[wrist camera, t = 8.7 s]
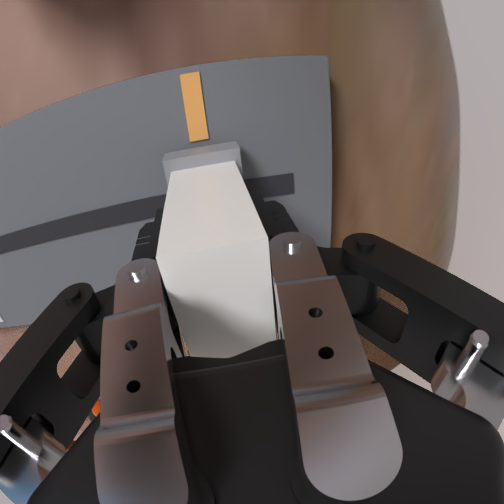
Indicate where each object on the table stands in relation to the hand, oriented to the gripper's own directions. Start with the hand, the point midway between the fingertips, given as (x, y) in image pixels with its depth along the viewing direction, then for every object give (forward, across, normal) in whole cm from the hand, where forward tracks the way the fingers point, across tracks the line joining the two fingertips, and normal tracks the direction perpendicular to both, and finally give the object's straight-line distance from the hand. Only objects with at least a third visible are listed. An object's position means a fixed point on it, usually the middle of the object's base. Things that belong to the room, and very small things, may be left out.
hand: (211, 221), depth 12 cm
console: (+5, +8, 0) cm, 9 cm away
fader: (+2, 0, 0) cm, 2 cm away
